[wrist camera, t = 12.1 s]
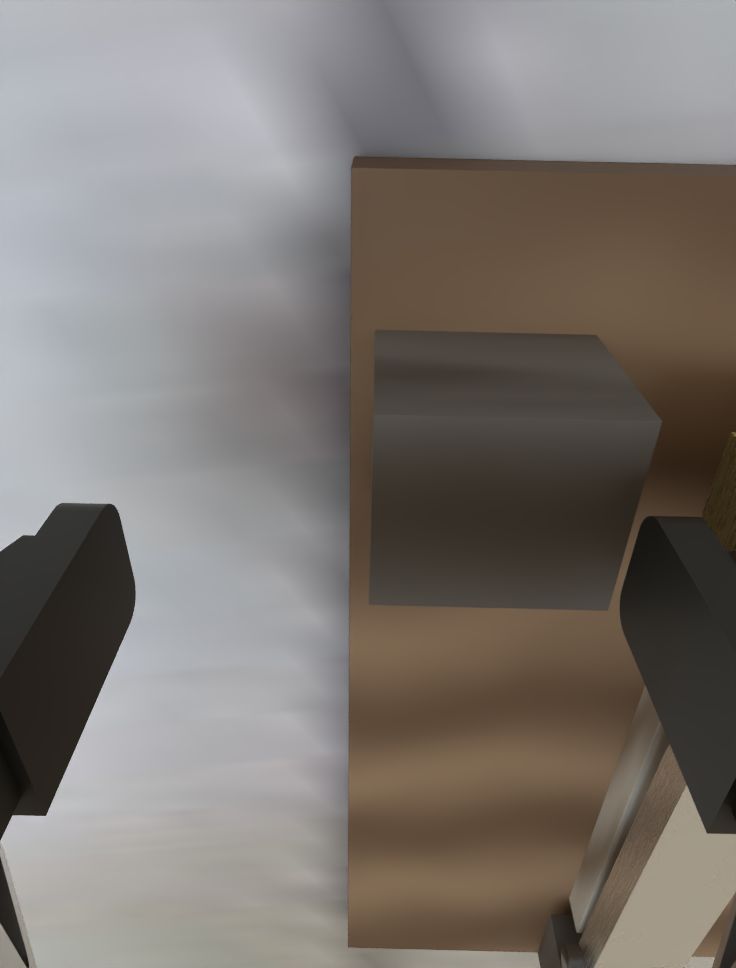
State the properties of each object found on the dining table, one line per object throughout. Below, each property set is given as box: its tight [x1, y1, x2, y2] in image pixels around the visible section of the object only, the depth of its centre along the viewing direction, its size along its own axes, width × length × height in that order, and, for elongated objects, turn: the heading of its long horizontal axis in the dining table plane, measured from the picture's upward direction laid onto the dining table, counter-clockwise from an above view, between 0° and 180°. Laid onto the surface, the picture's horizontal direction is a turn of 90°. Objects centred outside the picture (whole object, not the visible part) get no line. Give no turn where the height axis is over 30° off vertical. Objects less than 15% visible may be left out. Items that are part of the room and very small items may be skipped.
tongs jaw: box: [561, 744, 736, 968], centre depth 18 cm, size 23×4×1 cm, turn 179°
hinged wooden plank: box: [348, 157, 736, 968], centre depth 19 cm, size 30×20×5 cm, turn 179°
